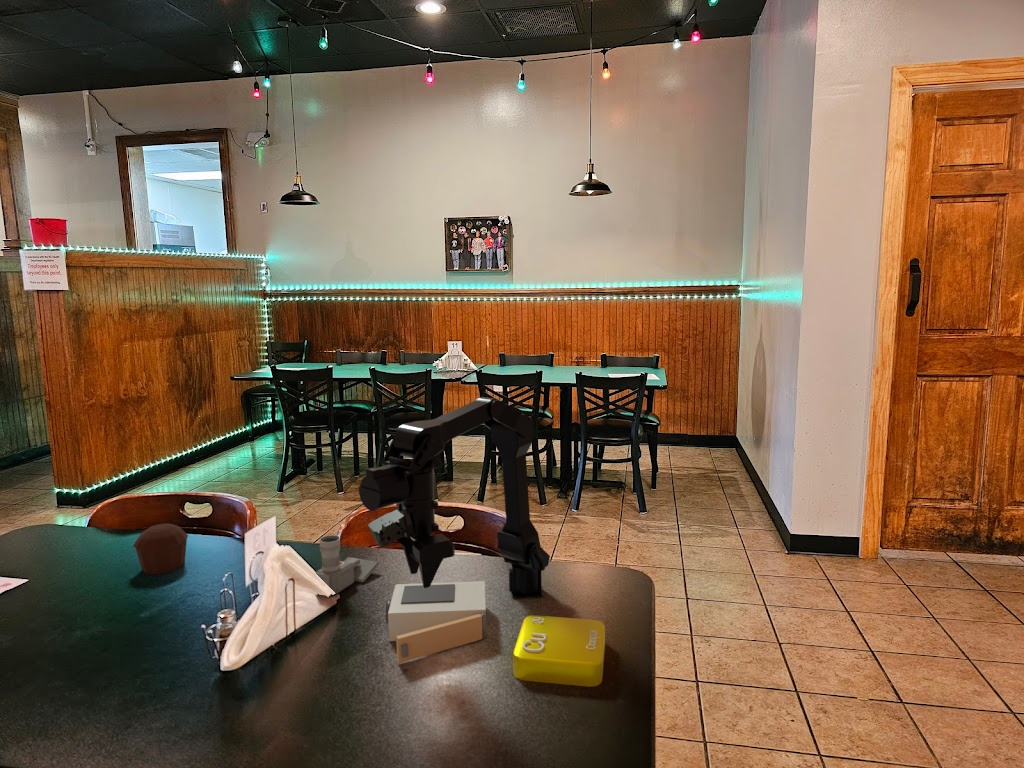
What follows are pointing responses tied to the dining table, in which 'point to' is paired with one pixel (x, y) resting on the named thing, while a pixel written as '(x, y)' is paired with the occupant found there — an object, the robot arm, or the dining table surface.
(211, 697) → the dining table surface
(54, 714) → the dining table surface
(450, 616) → the white box
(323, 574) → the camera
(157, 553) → the muffin
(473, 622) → the side door
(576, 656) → the element tile
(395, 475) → the robot arm
